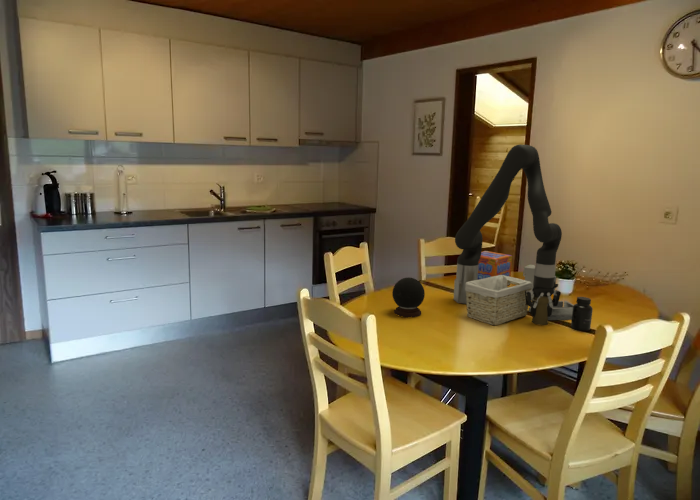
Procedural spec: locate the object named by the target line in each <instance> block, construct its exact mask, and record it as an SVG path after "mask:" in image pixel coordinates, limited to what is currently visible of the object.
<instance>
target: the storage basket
mask: <svg viewBox="0 0 700 500" xmlns="http://www.w3.org/2000/svg"><path fill="white" fill-rule="evenodd" d="M507 283H510V285H514V286H510V287H508V286H507ZM531 284H532V283H531V282H530V281H525V279H521V278H517V277H513V276H511V277H509V276H504V275H498V276H493V277H488V278H484V279H480V280H474V281H470V282H466V284H465V285H466V288H465V291H466V301H467V304H466V315H467V317H468V318H470V319H472V320H473V319H474V320H477V321H480V322H483V323H485V324H488V325H492V326H498V325H501V324H504V323H507V322H511V321H512V320H513V321H514V320H516V319H520V318H523V317H525V316H527V315H528V312H529V306H528V305H527V304H526V298H525V291H526V290H527V291H531V288H532V285H531Z"/></svg>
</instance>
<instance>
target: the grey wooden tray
mask: <svg viewBox="0 0 700 500" xmlns="http://www.w3.org/2000/svg"><path fill="white" fill-rule="evenodd" d="M574 305H575V304H573V303H571V302H570V301H568V300H564V301H562V300H559V302H558V305H557V306H554V307H552V314H551V315H550V317H548V321H570V320H572V312H573V306H574ZM547 306H548V305H547ZM530 309H531V307H530V306H529V307H528V312H529V313H530Z"/></svg>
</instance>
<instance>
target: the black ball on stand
mask: <svg viewBox="0 0 700 500" xmlns="http://www.w3.org/2000/svg"><path fill="white" fill-rule="evenodd" d="M391 295H392V300H393V301H394V304H396V305H397V307H396V308H395V309H394V310H393V313H395V314H397V315H399V316H398V317H401V316H403V317H402V318H408V317H412V318H417V317H420V316H421V315H422V310H421V309H420V308H419V307H420V306H421V304H422V303H423V302H424V300H425V295H426V294H425V288H424V286H423V284H422V283H421V282H420V281H419V280H418V279H416V278H415V277H404V278H403V277H402V278H401V279H399V280H397V282H396V283H394V286H393V289H392V294H391ZM395 314H394V315H395ZM397 315H396V316H397Z"/></svg>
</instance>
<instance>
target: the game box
mask: <svg viewBox="0 0 700 500" xmlns="http://www.w3.org/2000/svg"><path fill="white" fill-rule="evenodd" d="M512 263H513V255H511V254H505V253H500V252H494V251H490V250H489V251H488V250H484V251H481V257H480V260H479V264H478V280H480V279H484V278H488V277H493V276H498V275H504V276H509V277H512V276H511V275H512ZM508 286H511V283H507V287H508Z"/></svg>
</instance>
